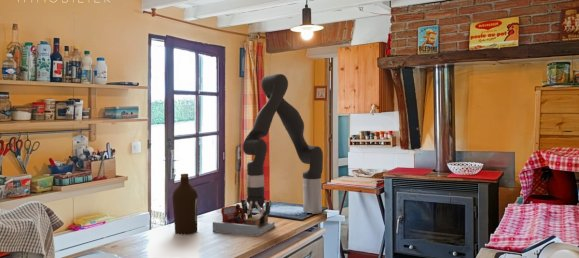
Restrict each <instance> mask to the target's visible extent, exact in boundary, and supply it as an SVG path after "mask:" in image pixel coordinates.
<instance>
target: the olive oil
mask: <svg viewBox="0 0 579 258" xmlns="http://www.w3.org/2000/svg"><path fill="white" fill-rule="evenodd" d="M189 179H190V178H189V174H188V173H181V174H180V184H179V185H177V187H176V188H175V189H174V191H173V193H172V197H171V198H172V207H173V208H172V209H173V221H174V232H175V234H176V235H184V234H185V235H192V234H195V233H197V232H198V203H199V196H198V191H197V189H196V188H195V187H193V185H191V183H190V182H189Z"/></svg>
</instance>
